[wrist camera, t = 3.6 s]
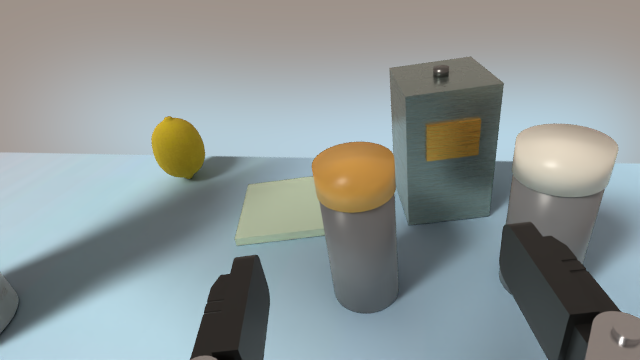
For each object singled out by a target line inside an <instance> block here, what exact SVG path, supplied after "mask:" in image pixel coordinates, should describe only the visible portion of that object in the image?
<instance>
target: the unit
mask: <svg viewBox="0 0 640 360" xmlns="http://www.w3.org/2000/svg"><path fill="white" fill-rule="evenodd" d="M503 85H504V83H503V82H502V81H500V80H499V79H498V78H497V77H495V76H494V75H493V74H492V73H491V72H489V71H488V70H487V69H485V68H484V67H483V66H482V65H480V64H479V63H478V62H477V61H475V60H474V59H473V58H472V57H464V58H458V59H450V60H443V61H437V62H429V63H422V64H415V65H408V66H402V67H394V68H390V89H391V110H392V111H391V112H392V134H393V155H394V159H395V182H396V188H397V191H398V194H399V197H400V201H401V204H402V207H403V210H404V213H405V216H406V219H407V222H408V225H417V224H426V223H434V222H443V221H451V220H460V219H468V218H476V217H485V216H489V213H490V204H491V195H492V186H493V177H494V167H495V158H496V149H497V140H498V131H499V122H500V112H501V104H502V94H503Z"/></svg>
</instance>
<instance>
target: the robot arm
mask: <svg viewBox="0 0 640 360" xmlns="http://www.w3.org/2000/svg"><path fill="white" fill-rule="evenodd" d="M499 264H500V270H501V274H502V277H503V279H504V281H505V283H506V284H507V286H508V288H509V290H510V292H511V293H512V295H513V297H514V299H515V301H516V302H517V304H518V306H519V308H520V310H521V311H522V313H523V315H524V317H525V319H526V320H527V322H528V324H529V326H530V328H531V329H532V331H533V333H534V335H535V337H536V338H537V340H538V342H539V344H540V346H541V347H542V349H543V351H544V353H545V355H546V356H547V358H548V360H640V319H639V318H637V317H635V316H633V315H630V314H627V313H623V312H621V311H620V310H619V309H618V307H617V306H616V305H615V304H614V302H613V301H612V300H611V299H610V298H609V296H608V295H607V294H606V293H605V291H604V290H603V289H602V288H601V287H600V285H599V284H598V283H597V282H596V280H595V279H594V278H593V277H592V276H591V274H590V273H589V272H587V271H586V268H585V267H584V266H583V265H582V263H581V262H580V261H578V260H577V257H576V256H575V255H574V254H573V252H572V251H571V250H570V249H569V248H568V246H567V245H565V244H564V243H562V242H560V241H559V240H557V239H556V238H554V237H553V236H542V235H541V233H540V232H539V231H538V229H537V228H536V227H535V225H534V224H533V223H532V222H522V223H514V224H506V225H504V227H503V232H502V241H501V250H500V258H499ZM18 301H19V298H18V295H17V293H16V291H15V290H14V289H13V288H12V286H11V285H10V284H9V282H8V281H7V280H6V279H5V277H4V276H3V275H2V274H1V272H0V333H1V332H2V331H3V330H4V328H5V327H6V326H7V325H8V324H9V322H10V321H11V319H12V318H13V316H14V315H15V312H16V310H17V307H18ZM269 306H270V296H269V289H268V285H267V282H266V278H265V275H264V272H263V269H262V265H261V262H260V259H259V257H258V255H252V256H244V257H236V258H235V259H234V261H233V265H232V269H231V273H230V274H226V275H220V277H219V278H218V279H217V281H216V282H215V283H214V284H213V286H212V287H211V290H210V293H209V297H208V300H207V304H206V307H205V310H204V315H203V317H202V321H201V324H200V328H199V331H198V335H197V338H196V342H195V345H194V348H193V352H192V355H191V358H190V360H263V358H264V349H265V341H266V332H267V324H268V315H269Z"/></svg>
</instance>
